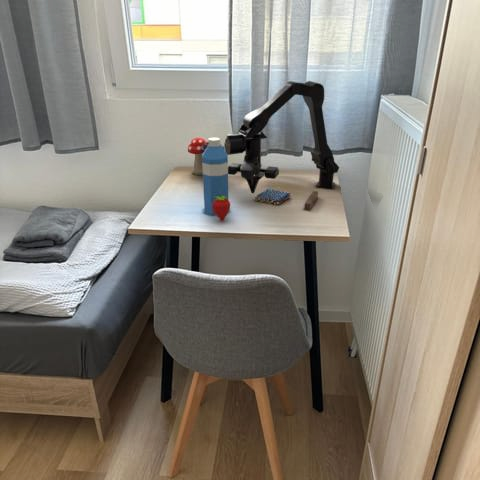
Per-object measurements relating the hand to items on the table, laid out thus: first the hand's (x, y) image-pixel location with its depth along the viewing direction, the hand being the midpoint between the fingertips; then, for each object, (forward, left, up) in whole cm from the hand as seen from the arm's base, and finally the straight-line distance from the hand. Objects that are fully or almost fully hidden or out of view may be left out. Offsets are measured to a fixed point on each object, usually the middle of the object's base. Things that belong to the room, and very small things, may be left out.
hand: (252, 193), depth 187 cm
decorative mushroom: (-21, -31, -2) cm, 37 cm away
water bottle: (+18, -8, -2) cm, 20 cm away
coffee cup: (-14, -22, -2) cm, 26 cm away
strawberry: (+26, -3, -2) cm, 26 cm away
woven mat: (0, +8, -2) cm, 8 cm away
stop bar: (0, +23, -2) cm, 23 cm away
